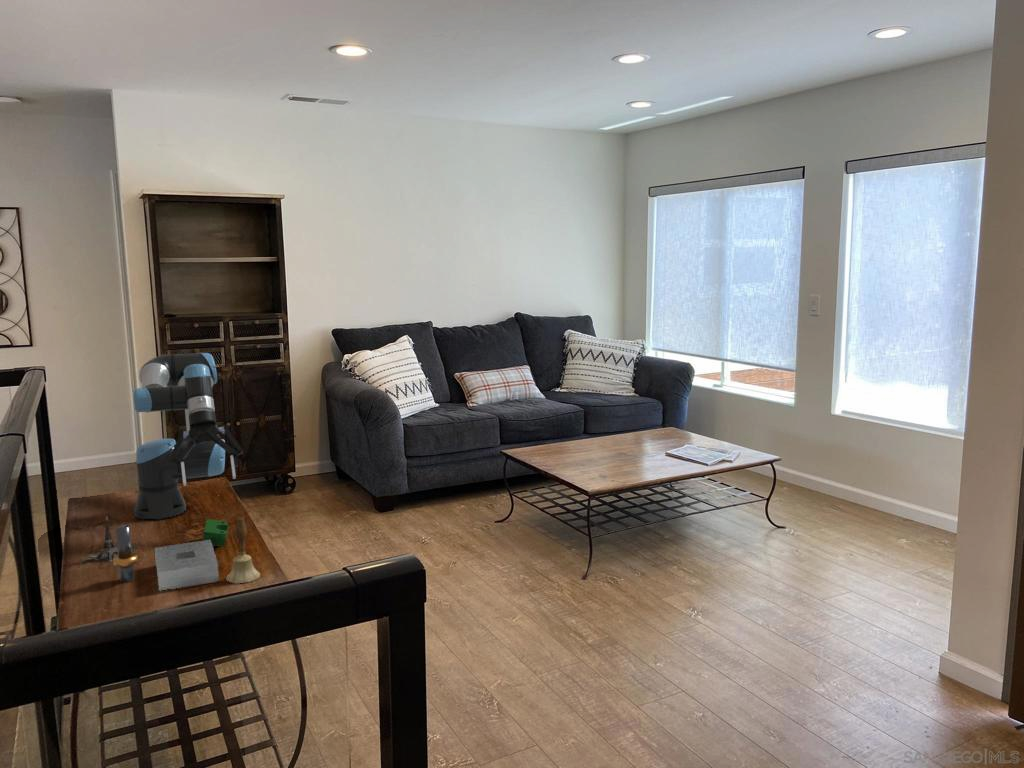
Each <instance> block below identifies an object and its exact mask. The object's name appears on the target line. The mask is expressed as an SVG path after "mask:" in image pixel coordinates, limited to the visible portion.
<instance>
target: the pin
mask: <svg viewBox="0 0 1024 768" xmlns="http://www.w3.org/2000/svg"><path fill="white" fill-rule="evenodd" d="M115 533H116V534H115V535H116V542H117V543H116V544H117V545H116V546H117V549H118V553H117V554H118V555H117V556H115V557H114V558H113V561H112V562H113V566H114V567H118V568H119V569H118V570H119V579H120V580H119V581H120V583H122V582H127V583H132V582H133V581H134V580H135V571H134V569H135V568H134V565H135V564H137V563H138V562H139V559H138V558H139V557H138V556H139V555H138V553H136V552H133V550H132V547H133V546H132V545H133V544H132V537H131V525H129V524H122V525H117V526H116V527H115Z"/></svg>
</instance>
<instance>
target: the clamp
mask: <svg viewBox="0 0 1024 768" xmlns="http://www.w3.org/2000/svg"><path fill="white" fill-rule="evenodd" d="M228 525H229V522H227V521H225V520H219V519H212V518H211V519H210V518H207V519H206V521H205V526H204V530H203V535H202V540H201V541H204V540H211V543H212V546H216V547H217V546H218V547H225V542H226V539H227V535H228V527H229V526H228Z"/></svg>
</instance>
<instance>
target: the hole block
mask: <svg viewBox="0 0 1024 768" xmlns="http://www.w3.org/2000/svg"><path fill="white" fill-rule="evenodd" d="M154 552H155V553H154V555H155V565H156V576H157V577H158V578H157V585H158V586H159V587H158V592H159V591H160V592H162V591H161V590H166V591H168V590H167V589H171V590H176V588H177V589H183V588H188V587H189V588H190V587H194V586H200V585H206V584H210V583H212V584H213V583H217V581H218V582H220V580H219V579H220V578H219V576H220V575H219V565H218V564H219V563H218V560H217V556H216V553H215V550H214V545H212V543H211V540H204V541H202V540H199V541H192V542H186V543H178V544H170V545H166V546H158V547H154ZM182 587H183V588H182Z"/></svg>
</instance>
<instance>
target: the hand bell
mask: <svg viewBox="0 0 1024 768" xmlns="http://www.w3.org/2000/svg"><path fill="white" fill-rule="evenodd" d="M235 535H236V538H237V541H238V553H237V556H235V557H234V558H233V559H232V568H231V571H230V573H228V574H227V577H226V581H227V582H228V581H229V582H228V583H230V582H231V584H235V585H237V584H240V583H242V584H246V583H247V582H248V583H251V581H252V582H254V581H256V580H259V578H260V577H261V573H260V572H259V571H258V570H257V569H256V568H255V566H254V564H253V561H252V557H251V555H249V554H246V544H245V543H246V542H245V541H246V538H247V525H246V522H245V520H244V517H239V518H238V519H237V522H236V527H235ZM248 583H247V584H248Z"/></svg>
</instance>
